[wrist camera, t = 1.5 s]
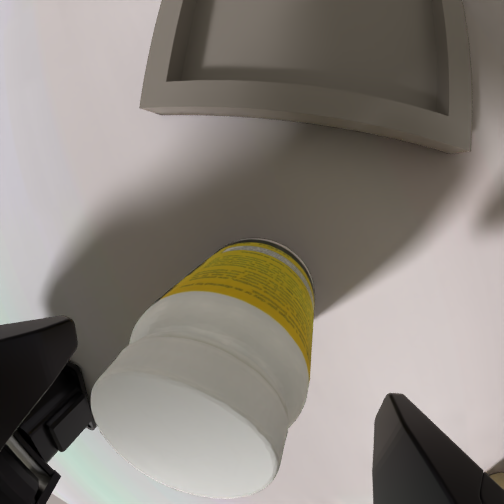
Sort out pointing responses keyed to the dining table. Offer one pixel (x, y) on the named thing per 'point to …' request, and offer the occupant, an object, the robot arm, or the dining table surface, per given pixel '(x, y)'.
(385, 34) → the tray
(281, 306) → the supplement bottle
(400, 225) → the dining table surface
